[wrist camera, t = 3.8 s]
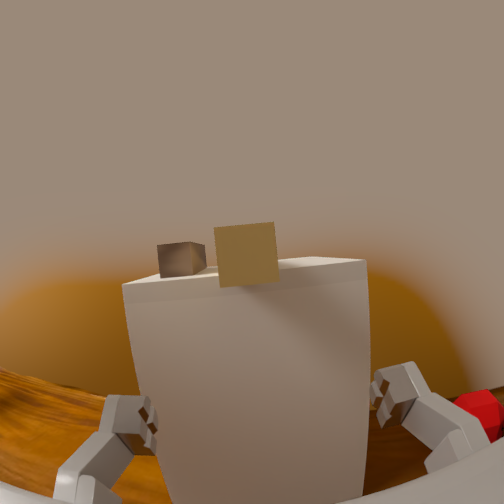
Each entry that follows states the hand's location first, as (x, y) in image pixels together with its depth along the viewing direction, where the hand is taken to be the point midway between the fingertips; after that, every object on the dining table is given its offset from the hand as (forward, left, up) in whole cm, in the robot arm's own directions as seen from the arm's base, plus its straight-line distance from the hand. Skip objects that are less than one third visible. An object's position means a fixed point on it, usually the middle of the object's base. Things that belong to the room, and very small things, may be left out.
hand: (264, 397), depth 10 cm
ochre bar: (0, +18, +3) cm, 18 cm away
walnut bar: (-6, +25, +3) cm, 26 cm away
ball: (+26, +16, -23) cm, 38 cm away
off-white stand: (0, +25, -23) cm, 33 cm away
